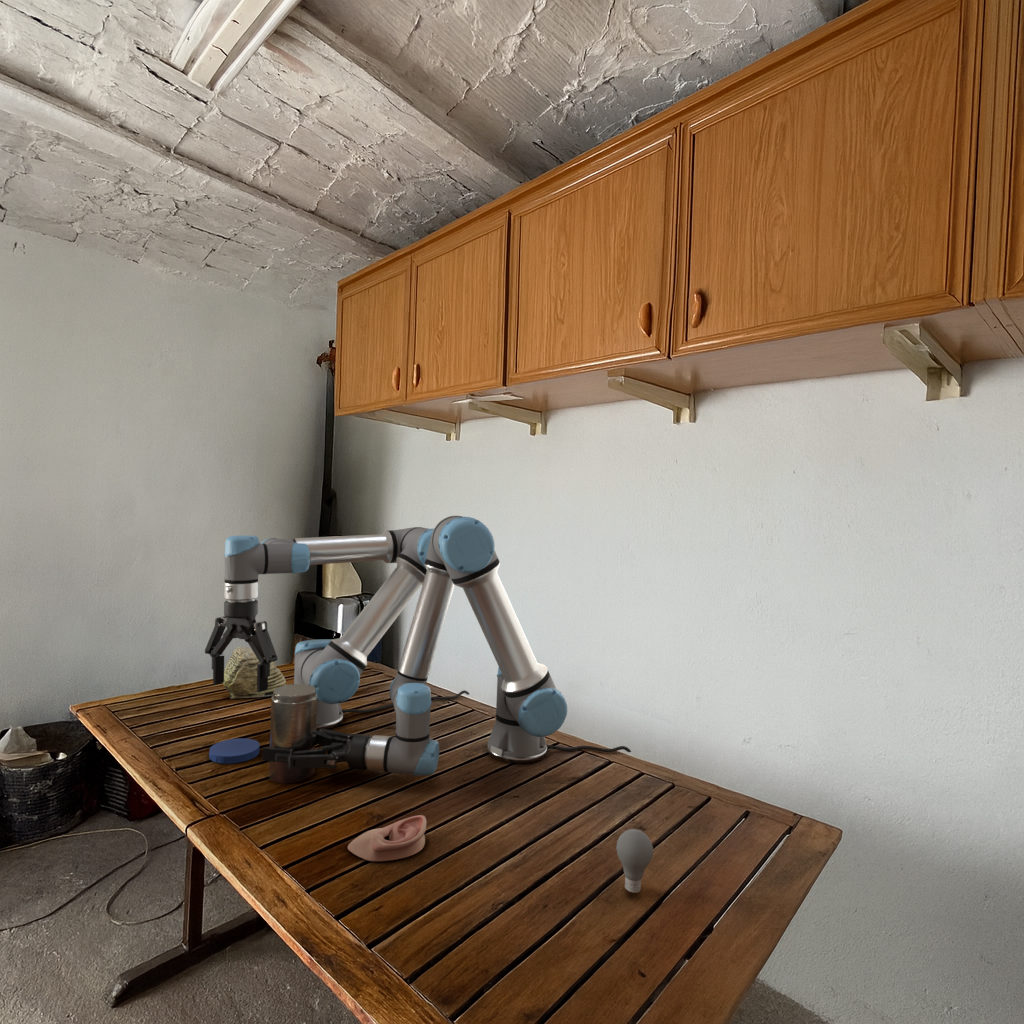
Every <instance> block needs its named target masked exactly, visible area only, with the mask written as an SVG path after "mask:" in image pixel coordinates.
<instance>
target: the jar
mask: <svg viewBox="0 0 1024 1024" xmlns="http://www.w3.org/2000/svg"><path fill="white" fill-rule="evenodd" d="M270 701H271V702H270V725H269V726H270V728H269V748H281V749H292V748H293V752H295V751H304V750H312V749H316V746H317V745H316V720H317V694H316V688H315V687H313V686H311V685H306V684H294V683H291V684H286V685H285V686H281V687H278V688H276V689H275V690H274V692H273V695H272V696H271V700H270ZM315 769H316V768H298V769H290V768H289V763H283V762H272V761H268V779H269V780H271V781H272V782H275V783H279V784H295V783H299V782H304V781H306V780H308V779H310V778H311V777H313V776H314V774H315V771H316V770H315Z"/></svg>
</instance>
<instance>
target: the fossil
mask: <svg viewBox="0 0 1024 1024" xmlns="http://www.w3.org/2000/svg"><path fill="white" fill-rule="evenodd" d="M264 659H265V658H264ZM258 664H260V662H259V660H258V659H257V657H256V655H255V654H254V652H253V650H252V649H251V647H247V646H246V647H245V646H238V647H237V648H236V649H235V650H233V651H232V653H231V656H230V657H229V659H228V660H227V663H226V666H225V667H224V682H222V685H223V687H224V688H225V690H226V691H228V693H229V698H230V699H250V698H264V697H272V696H273V692H274V690H275V689H276V688H278V687H281V686H285V685H287V680H286V678H285V676H284V674H283V673H282V672H281V669H279V668H278V667H277V665H276V663H275V661H274V662H271V663H270V676H269V677H268V689H267V690H264V691H262V692H257V665H258Z"/></svg>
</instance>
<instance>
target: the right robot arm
mask: <svg viewBox="0 0 1024 1024" xmlns="http://www.w3.org/2000/svg"><path fill="white" fill-rule="evenodd" d="M433 529H434V530H433V533H432V535H431V540H430V544H429V548H428V552H427V557H426V560H425V564H424V565H425V567H426V569H427V572H426V575H425V579H424V582H423V585H422V586H421V590H420V593H419V596H418V599H417V602H416V607H415V608H414V609H415V610H414V613H413V616H412V619H411V624H410V627H409V630H408V634H407V637H406V639H405V640H406V641H405V644H404V647H403V651H402V654H401V657H400V661H399V664H398V668H397V672H396V674H395V677H394V678H393V680H391V683H390V686H389V698H390V701H391V702H392V703H393V705H394V706H393V709H394V712H395V736H391V735H379V734H374V735H371V734H363V733H362V734H361V733H356V734H355V733H345V732H340V731H336V730H332V729H329V730H327V729H320V730H319V731H316V746H317V745H318V746H321V748H315V749H312V750H304V751H295V752H293V748H292V749H281V748H270V746H269V747H267V746H264V747H263V748H262V756H261V757H262V758H261V759H262V760H261V761H263V762H269V761H272V762H283V763H289V768H290V769H298V768H315V769H333V770H334V769H336V768H337V763H347V765H348V768H349V769H350V770H352V771H353V770H354V771H366V770H368V771H370V772H377V773H378V772H379V774H383V773H392V774H400V775H410V776H414V777H415V776H425V777H426V776H432V775H435V772H436V771H437V768H438V765H439V759H440V743H439V742H438V740H435V739H432V738H431V736H430V729H431V728H430V726H431V708H432V703H433V700H431V697H432V690H431V687H430V686H428V685H427V682H428V678H429V675H430V671H431V668H432V664H433V661H434V658H435V654H436V650H437V647H438V645H439V640H440V637H441V633H442V630H443V627H444V623H445V619H446V617H447V613H448V609H449V607H450V603H451V599H452V596H453V593H454V590H455V586H456V587H459V588H462V590H463V592H464V594H465V596H466V598H467V601H468V603H469V605H470V607H471V609H472V611H473V614H474V617H475V619H476V620H477V623H478V625H479V628H480V629H481V631H482V633H483V635H484V638H485V639H486V642H487V644H488V647H489V649H490V650H491V653H492V655H493V657H494V659H495V662H496V664H497V666H498V668H497V669H498V670H497V674H496V678H497V679H496V680H497V681H496V702H495V703H496V707H495V721H494V725H493V727H492V730H491V733H490V735H489V737H488V741H487V746H486V747H487V750H486V751H487V753H488V755H489V756H490V757H492V758H493V759H495V760H497V761H501V762H504V763H509V764H531V763H536V762H539V761H542V760H543V759H545V758H546V756H547V753H548V750H549V749H550V750H556V751H561V752H573V751H579V750H589V751H597V752H601V753H614V752H618V751H623V750H624V751H626V752H627V753H632V751H631V749H630V748H629V747H628V746H625V745H619V746H616V747H613V748H604V747H597V746H593V745H577V746H571V747H563V746H557V745H551V744H547V740H546V737H549V736H551V735H553V734H555V733H556V732H557V731H558V730H559V729H560V728H562V726H563V725H564V723H565V720H566V718H567V715H568V703H567V700H566V698H565V696H564V694H563V693H562V692H561V691H560V690H559V689H558V688H557V687H556V684H555V682H554V681H553V678H552V676H551V674H550V672H549V670H548V667H547V666H546V665H545V664H543V663H540V662H538V661H537V658H536V656H535V654H534V652H533V651H534V650H532V647H531V645H530V643H529V640H528V638H527V636H526V634H525V632H524V629H523V627H522V625H521V623H520V620H519V618H518V616H517V614H516V612H515V611H516V610H515V609H514V607H513V605H512V602H511V600H510V598H509V596H508V593H507V591H506V589H505V587H504V584H503V583H502V580H501V578H500V576H499V574H498V573H499V572H498V571H499V569H500V566H501V562H500V559H499V557H498V555H497V553H496V550H495V539H494V536H493V534H492V532H491V531H490V529H489V528H488V527H487V526H486V525H485V524H484V522H482V521H481V520H479V519H476V518H474V517H471V516H461V515H450V516H447V517H444V518H442V519H441V520H440V521H439V522H438V523H437V524H436V525H435V527H434V528H433Z"/></svg>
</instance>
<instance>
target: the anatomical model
mask: <svg viewBox="0 0 1024 1024" xmlns="http://www.w3.org/2000/svg"><path fill="white" fill-rule="evenodd" d="M426 830H427V818H426V816H425V815H422V814H419V815H418V814H417V815H413V816H409V817H406V818H403V819H400V820H398V821H396V822H394V823H391V824H389V825H386V826H384V827H379V828H374V829H370V830H367V831H365V832H363V833H362V834H360V835H358V836H357V837H355V838H354V839H352V840H351V841H350V842H349V843H348V845H347V850H348V851H349V852H351V854H353V855H355V856H356V857H358V858H360V859H363V860H365V861H368V862H388V861H394V860H396V861H397V860H399V859H400V860H401V859H405V858H408V857H411V856H413V855H415V854H417V853H419V852H421V850H423V848H424V847H425V844H426V836H425V833H426Z"/></svg>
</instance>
